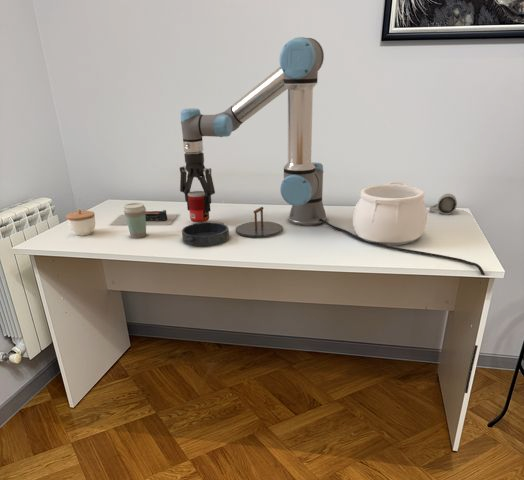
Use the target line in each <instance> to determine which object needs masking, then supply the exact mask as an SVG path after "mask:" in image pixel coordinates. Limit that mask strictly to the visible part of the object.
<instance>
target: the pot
mask: <svg viewBox="0 0 524 480" xmlns="http://www.w3.org/2000/svg"><path fill="white" fill-rule="evenodd" d="M359 196H360V198H359V199H358V201H357V202H356V204H355V207H354V208H353V209H354V210H353V213H352V226H353V229H354V233H355V235H356V236H358V237H360V238H362V239H364V240H366V241H370V242H375V243H379V244H383V245H387V246H401V245H402V246H403V245H408V244H411V243H414V242H415V241H417V240H418V239H419V238H420V237H421V236H422V235H423V233H424V232H425V229H426V226H427V222H428V210H427V206H426V203H425V201H424V197H425V193H424V191H423V190H422V189H420V188H419V187H414V186H409V185H407V183H406V182H405V181H398V180H393V181H392V180H391V181H388V182H387V183H386V184H378V185H377V184H376V185H370V186H366V187H364V188H362V189H361V190H360V192H359Z"/></svg>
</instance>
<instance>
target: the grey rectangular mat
mask: <svg viewBox="0 0 524 480" xmlns="http://www.w3.org/2000/svg"><path fill="white" fill-rule="evenodd" d="M177 216H178V214H167V210H166V209H146V210H145V218H146V226H152V225H153V226H155V225H156V226H159V225H160V226H161V225H162V226H164V225H165V226H167V225H168V226H170V225H171V224H172V223H173V222H174V220H176V218H177ZM111 226H128V224H127V220H126V217H125V214H122V215H121V216H120V217H119V218H118V219H116V221H114V222H113V223H112V224H111Z"/></svg>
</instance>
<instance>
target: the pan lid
mask: <svg viewBox="0 0 524 480" xmlns="http://www.w3.org/2000/svg"><path fill="white" fill-rule="evenodd" d="M259 212H260V220H258V213H259ZM253 214H254V221H247V222H244V223H241V224H239V225H237V226H236V227H235V232H236V233H237V234H238V235H241V236H244V237H253V238H261V237H271V236H275V235H277V234H280V233H281V232H283V230H284V228H283V225H282V224H280V223H278V222H274V221H269V220H268V221H267V220H264V207H263V206H260V207H259V208H256V209H255V210H253Z"/></svg>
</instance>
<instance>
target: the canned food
mask: <svg viewBox="0 0 524 480" xmlns="http://www.w3.org/2000/svg"><path fill="white" fill-rule="evenodd" d="M204 196H205V192H204V190H194V191H191V192H189V193H188V202H189V210H188V211H189V219H190V221H191V222H193V223H206V222H208V221H209V220H210V212H207V213H205V201H204Z"/></svg>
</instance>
